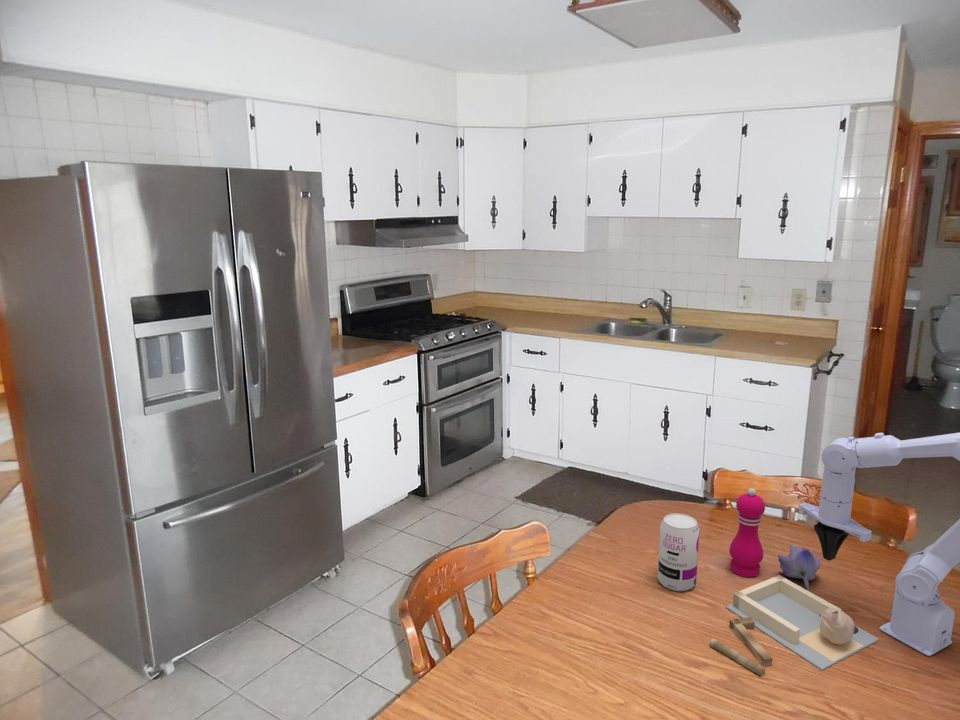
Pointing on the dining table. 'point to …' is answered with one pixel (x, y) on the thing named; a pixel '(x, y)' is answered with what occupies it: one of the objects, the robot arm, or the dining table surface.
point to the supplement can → (678, 552)
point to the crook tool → (750, 639)
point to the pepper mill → (747, 535)
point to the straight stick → (737, 657)
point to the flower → (800, 564)
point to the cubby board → (795, 620)
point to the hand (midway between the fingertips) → (829, 558)
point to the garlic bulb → (836, 626)
